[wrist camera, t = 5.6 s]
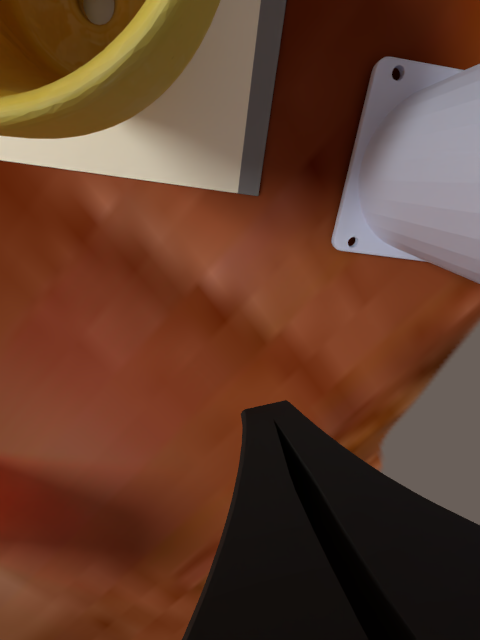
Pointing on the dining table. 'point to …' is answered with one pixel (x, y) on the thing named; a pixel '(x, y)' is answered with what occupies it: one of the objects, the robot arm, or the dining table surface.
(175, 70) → the plant pot
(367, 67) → the dining table surface
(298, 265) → the dining table surface
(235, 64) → the game board
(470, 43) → the dining table surface
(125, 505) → the dining table surface
